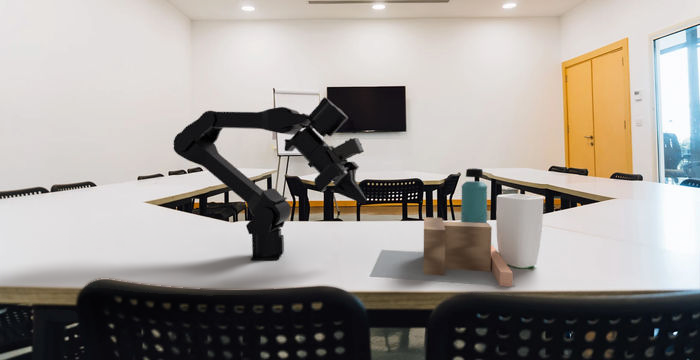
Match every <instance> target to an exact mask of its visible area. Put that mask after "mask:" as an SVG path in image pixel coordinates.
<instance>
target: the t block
mask: <svg viewBox="0 0 700 360" xmlns="http://www.w3.org/2000/svg"><path fill="white" fill-rule="evenodd" d="M491 245H492V226H491V224H489V223H488V222H487V223H471V222H461V221H444V219H443V218H442V217H429V216H428V217H427V216H426V217H423V252H424V265H423V274H426V275H441V276H445V269H455V270H470V271H485V272H490V270H491Z"/></svg>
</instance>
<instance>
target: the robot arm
mask: <svg viewBox="0 0 700 360" xmlns="http://www.w3.org/2000/svg"><path fill="white" fill-rule="evenodd" d="M348 119H349V117H348V116H347V114H345V113H344V111H343V110H342V109H341V108H339V107H337V105H336V104H334V103H333V102H332V101H331V100H330V99H329V98H327V97H325V96H324V97H323V98H322V99H321V100H320V102H319V104H318V105H317V106H316V107H315V108H314V109H313V110H312V112H311V113H310V114H306V113H304V112H303V113H300V112H299V111H297V110H295V109H291V108H290V107H289V108H288V107H286V106H278V107H273V108H269V109H265V110H263V111H217V110H216V111H215V110H207V111H204V112H203V113H202V114H201V115H200V116H199V117H198V119H196V120H194V121H193V122H191V123H189V124H188V125H186V126H185V127H184V128H183V130H181V132H179V133H177V134H176V135H175V136H174V139H173V150H174V152H175V154H177V155H178V156H180V157H182V158H183V159H185V160H186V161H189V162H191V163H194V164H196V165H199V166H201V167H203V168H205V169H206V171H208V172H209V173H210V174H212V175H213V176H214V177H215V178H216V179H217V180H219V181H220V182H222V184H223V185H225V186H226V187H227V188H229V189H230V190H231V191H232V192H233V193H234V194H235V195H237V196H238V197H239V198H240V199H242V200H243V201H244V202H245V204H247V207H248V209H249V211H250V213H251V215H252V217H253V218H252V219H251V220H249V222H248V223H247V224H246V225H245V226H246V230H247V232H248V235H251V242H252V245H251V247H252V248H251V249H252V255H251V257H250V261H265V260H266V261H269V260H270V261H272V260H280V258H281V257H282V255H283V254H284V252H285V236H284V235H283V234H282V228H283V227H284V225H285V223H286V221H287V220H288V219H289V218H290V216H291V205H290V203H289V202H288V201H287V199H288V197H285V196H283V195H282V194H281V193H280V192H279V190H278V189H276V188H270V189H266V190H264V189H262V188H261V187H260V186H258V185H257V184H256V183H255V182H254V181H252V180H251V179H250V178H249V177H247V175H245V174H244V173H243V172H241V171H240V170H239V169H238V168H236V166H234V165H233V164H232V163H231V162H230V161H228V160H227V159H226V158H225V157H224V156H222V155H221V154H220V153H219V151H218V148H217V146H216V144H215V143H216V142H217V140H218V138H219V136H220V133H221V131H222V130H223V129H246V130H247V129H249V130H250V129H251V130H252V129H253V130H264V131H268V132H273V133H277V134H283V135H290V136H292V137H291V138H289V139H287V138H286V139H284V144H285V145H284V151H285V152H293V151H294V150H297V151H298V153H300V155H301V156H302V157H303V158H304V159H305V160H306V161H307V162H308V163H307V165H308V167H310V168H314V169H315V170H316V171H317V173H318V175H317V176H316V177H315V178H314V186H315V188H316V189H317V190H318V191H319V192H320V193H322V192H325V191H326V190H327V186H329V185H330V184H331V183H332V184H333V186H332V188H331V189H330V191H331V192H334V193H336V194H339V195H341V196H344V197H346V198H348V199H351V200H352V201H355V202H357V203H360V204H362V205H364V204H365V203H366V202H367V201H368V199H367V198H366V196H365V195H364V192H363V191H362V189H361V188H360V185H359V184H358V182H357V180H356V173H357V170H358V169H359V167H360V166H359V165H358V164H357V163H356V162H355V161H348V159H349V158H352V157H353V156H355V155H361V154H362V153H363V152H365V150H364V149H363V146H362V143H361V141H360V140H359V138H357V137H354V138H352V137H351V138H349V139H347V140H345V141H344V142H343V143H340V144H339V145H337V146H335V147H334V145H328V143H327V142H326V141H325V140H323V139H322V138H321V137H323V138H325V137H327V136H329V137H332V136H333V135H334V134H336V132H337V131H338V130H339V129H340V128H341V127H342V125H343V124H344V123H345V122H346V121H347V120H348ZM277 190H278V191H277Z"/></svg>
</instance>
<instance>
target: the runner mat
mask: <svg viewBox="0 0 700 360" xmlns="http://www.w3.org/2000/svg"><path fill="white" fill-rule="evenodd" d="M423 265H424V251H412V250H411V251H409V250H393V249H392V250H390V249H381V250H380V252H379V255H378V257H377V259H376V262H375V264H374V266H373V268H372V270H371V273H370V274H369V277H373V278H387V279H388V278H389V279H390V278H391V279H402V280H414V281H415V280H416V281H417V280H418V281H428V282H430V281H431V282H440V283H441V282H443V283H445V282H446V283H455V284H456V283H458V284H469V285H470V284H471V285H481V286H482V285H484V286H485V285H486V286H498V287H510V288H511V287H514V288H515V287H516V285H515V284H514V282H513V271H512V270H511V268H510V266H509V265H507V264H506V263H505V261H504V260H503V259H502V257H501V256H500V255H499V253H498V249H496V248H495V246H494V245H492V244H491V270H490V272H485V271H470V270H455V269H445V276H441V275H426V274H423Z"/></svg>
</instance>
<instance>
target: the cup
mask: <svg viewBox="0 0 700 360" xmlns="http://www.w3.org/2000/svg"><path fill="white" fill-rule="evenodd" d="M495 218H496V243H497V252H498V253H499V255H500V256H501V257H502V259H503V260H504V261H505V263H506V264H507V266H508V267H513V268H515V269H526V268H527V269H529V268H532V267H534V266H536V265H537V263H538V258H539V252H540V247H541V239H542V232H543V230H542V229H543V220H544V196H540V195H534V194H533V195H532V194H522V193H507V194H506V193H505V194H498V195H497V196H496V217H495Z"/></svg>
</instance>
